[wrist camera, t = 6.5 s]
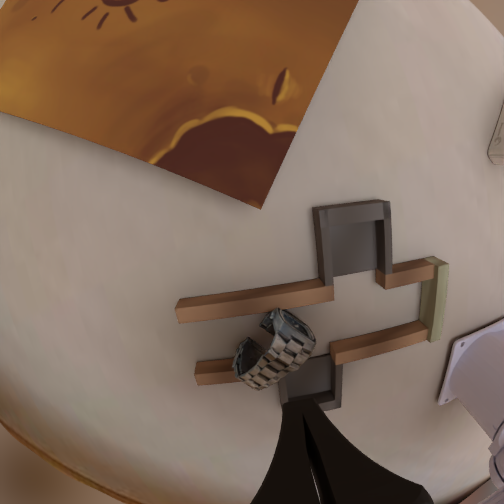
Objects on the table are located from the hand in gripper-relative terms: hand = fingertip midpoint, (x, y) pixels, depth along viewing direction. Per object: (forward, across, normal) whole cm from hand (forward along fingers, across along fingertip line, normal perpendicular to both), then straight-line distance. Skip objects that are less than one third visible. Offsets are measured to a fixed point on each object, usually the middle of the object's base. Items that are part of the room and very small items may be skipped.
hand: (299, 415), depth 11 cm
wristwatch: (+9, +1, 0) cm, 9 cm away
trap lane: (+8, -3, 0) cm, 9 cm away
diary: (+9, +5, -22) cm, 25 cm away
